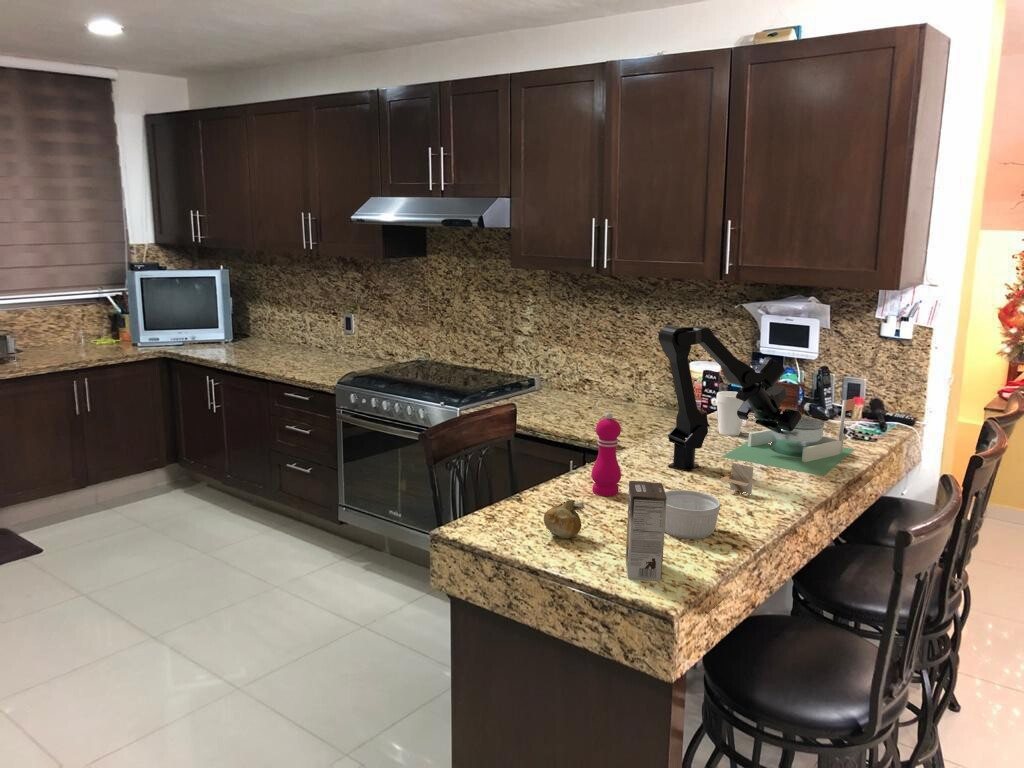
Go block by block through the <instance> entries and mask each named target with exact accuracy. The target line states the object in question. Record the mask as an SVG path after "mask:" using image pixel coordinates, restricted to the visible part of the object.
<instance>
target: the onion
mask: <svg viewBox="0 0 1024 768" xmlns="http://www.w3.org/2000/svg"><path fill="white" fill-rule="evenodd" d="M583 509H585V502H576V500H574V499H568V500H566V501H562V502H561V503H558V504H557V505H556V504H555V506H553V507H550V508H549V509H548V510H546V511H545V513H544V515H543V523H544V526H545V527H546V528H547V530H545V531H547V532H549V533H551V535H552V536H554V537H556V538H558V539H572V538H574V537H575V536H577V535H578V534H579V532H580V531H581V528H582V521H581V518H580V516H579V514H578V513H577V511H576V510H583Z"/></svg>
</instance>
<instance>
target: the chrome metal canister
mask: <svg viewBox="0 0 1024 768" xmlns="http://www.w3.org/2000/svg"><path fill="white" fill-rule="evenodd" d="M824 427H825V422H823V421H822V420H821V419H820V420H819V419H817V418H812V417H806V416H802V417H801V419H800V420H799V422H798V423H797V425H796V426H795V428H794V429H793V430H792V431H787V430H783V429H782V431H781V433H777V432H774V431H773V432H772V443H771V449H772V450H773V451H775V452H777V453H780V454H784V455H788V456H795V457H802V455H803V448H804V447H809V446H813V445H818V444H822V437H823V436H824Z"/></svg>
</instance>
